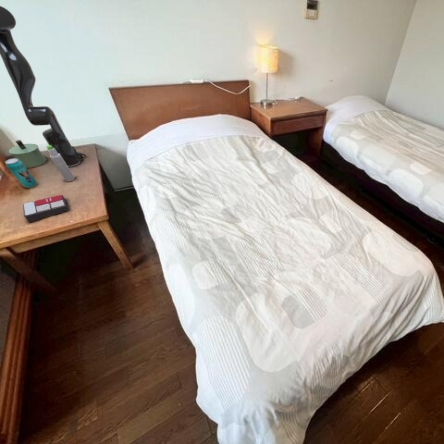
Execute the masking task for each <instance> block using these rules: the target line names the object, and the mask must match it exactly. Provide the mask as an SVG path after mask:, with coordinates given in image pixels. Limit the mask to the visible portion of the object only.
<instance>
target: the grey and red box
mask: <svg viewBox="0 0 444 444" xmlns="http://www.w3.org/2000/svg"><path fill="white" fill-rule="evenodd" d="M22 210H23V217H24V218H25V219H26V220H27V222H28V223H32V222H36V221H39V220H41V219H42V218H46V217H50V216H55V215H57V214H61V213H66V212H69V211H70V209H69V205H68V203H67V199H66V198H65V196H64V195H63V194H58V195H55V196H50V197H46V198H41V199H38V200H34V201H30V202H26V203H23V204H22Z"/></svg>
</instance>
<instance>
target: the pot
mask: <svg viewBox="0 0 444 444" xmlns="http://www.w3.org/2000/svg"><path fill="white" fill-rule="evenodd" d="M11 156H12V157H13V158H17V159H19V160H20V161H21V162H22V163H23V164H24V166H25V167H26V168H27V169H28V168H29V169H30V168H36V167H40V166H42V165H44V164H45V163H46V162H47V158H46V157H45V155H44V153H43V152H42V150H41V149H40V148H38V149H37V150H35V151H33V152H31V153H27V154H21V155H14V154H11Z"/></svg>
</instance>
